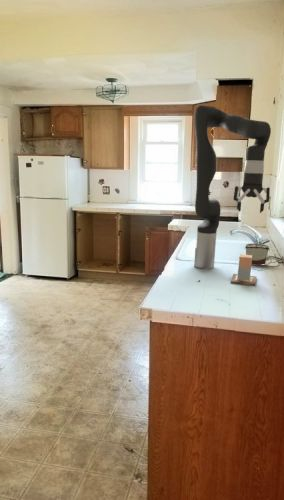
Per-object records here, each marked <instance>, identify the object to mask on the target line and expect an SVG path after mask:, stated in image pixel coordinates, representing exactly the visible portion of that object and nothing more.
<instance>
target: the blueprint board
mask: <svg viewBox="0 0 284 500" xmlns="http://www.w3.org/2000/svg"><path fill="white" fill-rule="evenodd" d="M237 278H238V273H233V274H232V277H231V279H230V284H234V285H242V286H249V287H250V286H251V287H256V282H257V276H254V275H250V280H249V281H248V280H239V279H237Z"/></svg>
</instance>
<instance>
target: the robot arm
mask: <svg viewBox="0 0 284 500" xmlns="http://www.w3.org/2000/svg"><path fill="white" fill-rule="evenodd" d="M193 123H194V133H195V141H196V142H195V144H196V145H195V149H196V159H195V160H196V161H195V162H196V163H195V164H196V191H195V204H194V208H195V209H194V210H195V214H196V216H197V217H198V218H200V219H203V221H202V223H200V224H199V225H197V229H196V246H195V250H194V262H193V265H194V267H195V268H198V269H203V270H204V269H205V270H206V269H207V270H209V269H213V268H215V261H216V260H215V258H216V244H217V232H218V231H217V230H218V228H219V226H220V225H219V224H220V219H221V211H222V210H221V203H220V202H219V200H218V199H216V198H210V186H211V184H212V183H213V182H212V181H213V179H214V177H215V175H216V172H217V155H216V152H215V149H214V146H213V145H212V143H211V140H210V138H209V133H208V128H209V129H210V128H223V129H225V130H226V131H228V132H230V133H233V134H236V135H240V136H242V137H244V138H247V139H250V140H255V141H254V143H253V144H252V145H249V146H248V147H247V148H246V156H245V163H244V171H243V184H242V186H239V185H235V187H234V192H233V201H235V202H237V205H236V207H237V208H236V210H237V211H238V212H241V211H242V200H243V199H245V197H247V198H257V199H258V200H259V201H260V206H259V207H260V208H259V213H260V214H262V212H264V209H265V204H266V203H269V202H270V193H271V192H270V191H271V187H269V186H268V187H264V186H263V181H264V172H265V170H264V169H265V153H266V152H265V151H266V149H267V146H268V143H269V140H270V137H271V133H272V130H271V129H272V128H271V125H270V124H269V123H268V122H267V121H265V120H264V121H261V120H255V119H249V118H248V117H244V116H240V115H236V114H230V113H228V112H227V113H226V112H225V111H222V110H221V109H219V108H217V107H214V106H210V105H204V104H203V105H199V106H197V107H196V108H195V111H194V117H193ZM240 191H242V192H243V194H241V196H240V197H239V198H238V195H239V192H240ZM263 191H264V193H265V194H266V195H265V199H264V197H262V195H261V193H262V192H263Z"/></svg>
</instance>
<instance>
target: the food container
mask: <svg viewBox="0 0 284 500" xmlns="http://www.w3.org/2000/svg"><path fill="white" fill-rule="evenodd" d="M244 249H245V255H252V264H265V265H266V264H267V258H268V253H269V251H271V250H270V246H269V245H267V244H262V243H247V244H245V246H244Z"/></svg>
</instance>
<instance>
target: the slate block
mask: <svg viewBox="0 0 284 500" xmlns="http://www.w3.org/2000/svg"><path fill="white" fill-rule="evenodd" d="M251 271H252V268H251V269H243V268H239V267H238V268H237V274H238V278H237V279H239V280H248V281H249V280H250V276H251V273H252V272H251Z"/></svg>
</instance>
